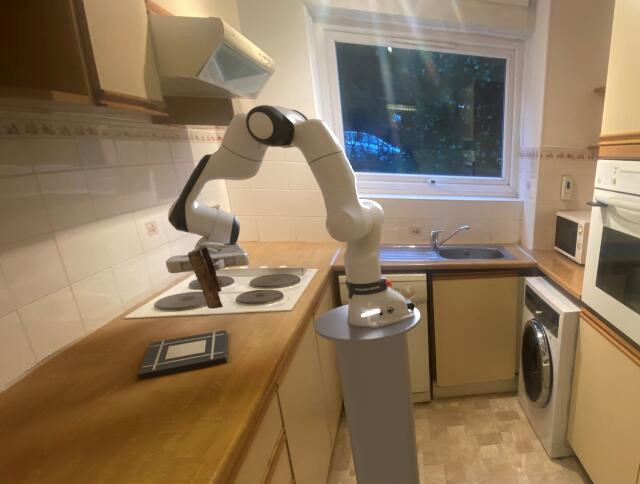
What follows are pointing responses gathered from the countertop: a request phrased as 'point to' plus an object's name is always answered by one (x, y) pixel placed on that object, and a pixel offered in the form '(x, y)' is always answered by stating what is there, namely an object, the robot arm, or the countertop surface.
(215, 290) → the mineral sample
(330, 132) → the robot arm
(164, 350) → the board
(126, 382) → the countertop surface
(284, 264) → the countertop surface
